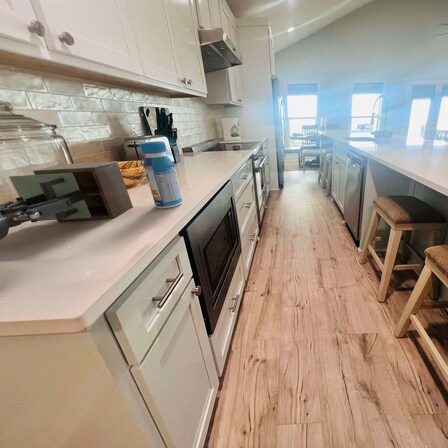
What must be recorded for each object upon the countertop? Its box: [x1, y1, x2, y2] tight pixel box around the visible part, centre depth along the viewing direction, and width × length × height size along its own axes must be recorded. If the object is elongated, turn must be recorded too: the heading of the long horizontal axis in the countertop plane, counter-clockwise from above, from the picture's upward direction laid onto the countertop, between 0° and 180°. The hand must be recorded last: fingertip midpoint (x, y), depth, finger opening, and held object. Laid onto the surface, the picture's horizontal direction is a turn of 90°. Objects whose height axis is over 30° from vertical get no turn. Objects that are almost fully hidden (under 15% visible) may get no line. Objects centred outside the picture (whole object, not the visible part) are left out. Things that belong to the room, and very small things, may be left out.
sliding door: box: [8, 173, 91, 222], centre depth 64 cm, size 16×7×13 cm, turn 93°
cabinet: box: [32, 161, 134, 223], centre depth 72 cm, size 16×10×15 cm, turn 93°
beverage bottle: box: [139, 140, 183, 209], centre depth 76 cm, size 8×8×20 cm
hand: (66, 195), depth 66 cm, fingers closed on sliding door, 7 cm apart
